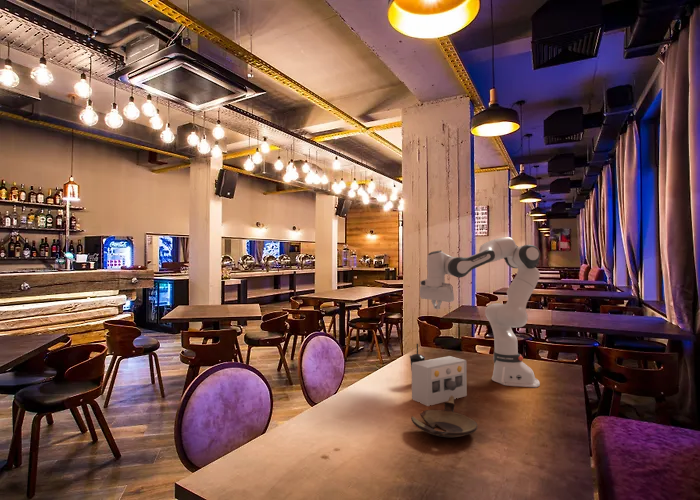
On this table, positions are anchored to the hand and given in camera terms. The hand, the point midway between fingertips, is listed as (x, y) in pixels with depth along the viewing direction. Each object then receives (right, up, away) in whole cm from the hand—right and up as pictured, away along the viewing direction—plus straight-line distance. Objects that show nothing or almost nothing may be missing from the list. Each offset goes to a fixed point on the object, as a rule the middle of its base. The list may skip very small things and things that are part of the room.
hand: (436, 308), depth 201 cm
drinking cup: (-12, -37, -8) cm, 39 cm away
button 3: (-9, -30, -34) cm, 47 cm away
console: (-5, -36, -28) cm, 45 cm away
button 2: (-2, -30, -33) cm, 45 cm away
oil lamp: (-10, -35, -63) cm, 72 cm away
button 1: (+3, -30, -27) cm, 41 cm away
